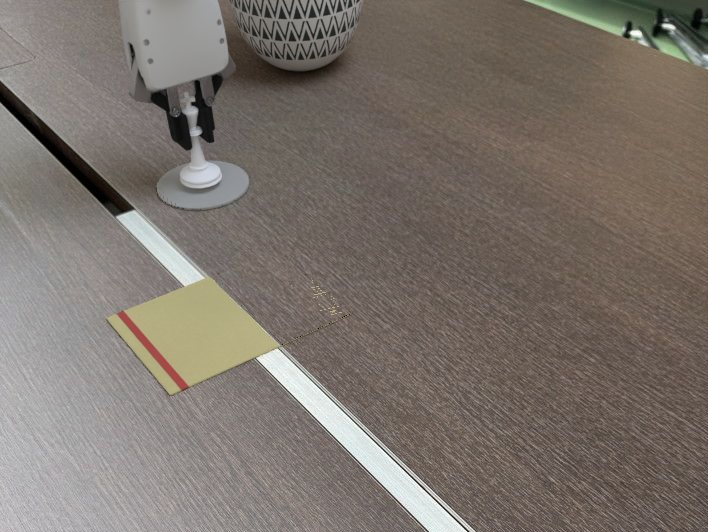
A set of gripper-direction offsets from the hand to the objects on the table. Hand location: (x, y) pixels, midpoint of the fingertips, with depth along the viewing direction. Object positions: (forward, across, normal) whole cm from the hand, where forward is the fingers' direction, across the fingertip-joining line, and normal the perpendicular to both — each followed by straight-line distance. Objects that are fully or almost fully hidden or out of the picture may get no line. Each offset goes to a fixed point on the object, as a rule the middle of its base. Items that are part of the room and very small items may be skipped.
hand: (194, 140), depth 96 cm
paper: (+5, +10, +24) cm, 27 cm away
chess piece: (+5, 0, 0) cm, 5 cm away
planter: (+6, -28, -22) cm, 36 cm away
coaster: (+5, 0, 0) cm, 5 cm away
